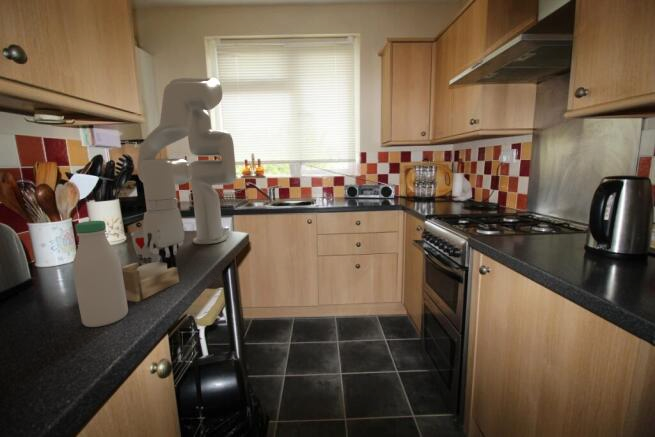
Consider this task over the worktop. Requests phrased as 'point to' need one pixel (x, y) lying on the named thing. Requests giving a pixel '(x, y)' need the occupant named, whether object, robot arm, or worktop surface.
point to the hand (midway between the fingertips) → (169, 269)
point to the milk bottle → (98, 277)
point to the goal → (146, 282)
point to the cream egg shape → (151, 269)
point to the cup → (143, 249)
